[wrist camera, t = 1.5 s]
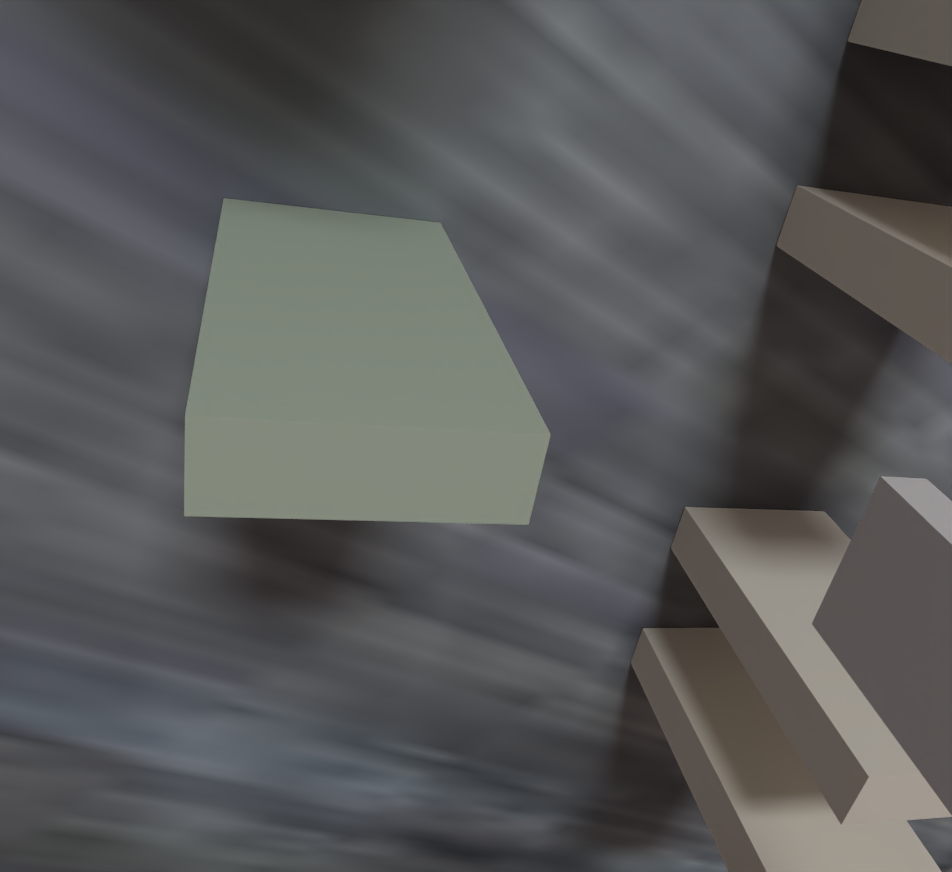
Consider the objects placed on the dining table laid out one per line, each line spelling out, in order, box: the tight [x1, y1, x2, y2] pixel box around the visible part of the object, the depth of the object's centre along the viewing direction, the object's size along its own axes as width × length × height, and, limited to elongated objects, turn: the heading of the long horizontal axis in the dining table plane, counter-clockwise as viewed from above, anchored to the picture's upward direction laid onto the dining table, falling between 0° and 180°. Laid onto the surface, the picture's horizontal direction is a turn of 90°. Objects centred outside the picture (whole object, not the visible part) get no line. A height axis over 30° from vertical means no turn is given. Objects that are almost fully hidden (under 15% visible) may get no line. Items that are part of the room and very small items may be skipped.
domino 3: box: [671, 507, 952, 825], centre depth 24 cm, size 2×5×10 cm, turn 80°
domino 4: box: [631, 628, 941, 872], centre depth 26 cm, size 2×5×10 cm, turn 81°
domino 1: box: [184, 198, 551, 525], centre depth 16 cm, size 2×5×10 cm, turn 80°
